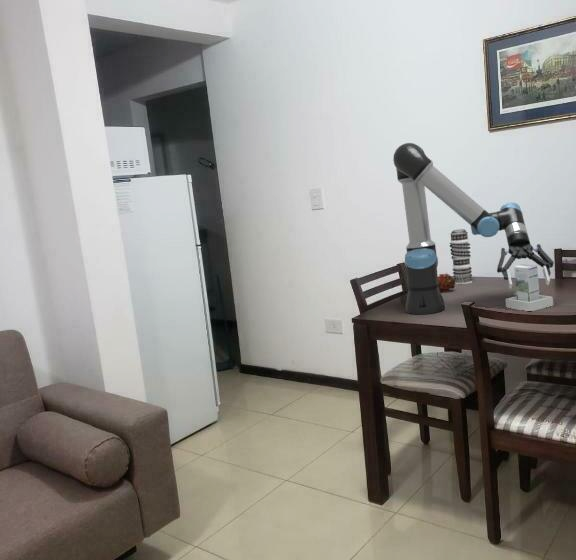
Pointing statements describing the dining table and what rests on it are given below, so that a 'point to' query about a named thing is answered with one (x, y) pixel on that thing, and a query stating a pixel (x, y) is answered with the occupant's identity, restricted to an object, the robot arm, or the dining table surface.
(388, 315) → the dining table surface
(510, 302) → the tray
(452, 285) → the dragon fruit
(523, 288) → the syrup box
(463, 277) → the decorative candle
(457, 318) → the dining table surface
